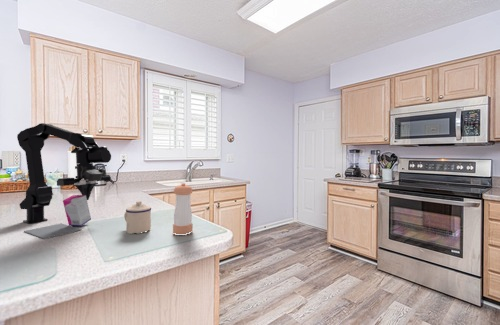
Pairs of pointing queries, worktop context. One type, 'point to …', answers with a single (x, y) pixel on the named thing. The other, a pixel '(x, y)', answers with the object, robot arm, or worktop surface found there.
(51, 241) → the worktop surface
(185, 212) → the pepper shaker
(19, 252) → the worktop surface
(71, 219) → the supplement box
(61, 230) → the slate mat
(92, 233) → the worktop surface
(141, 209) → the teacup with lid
